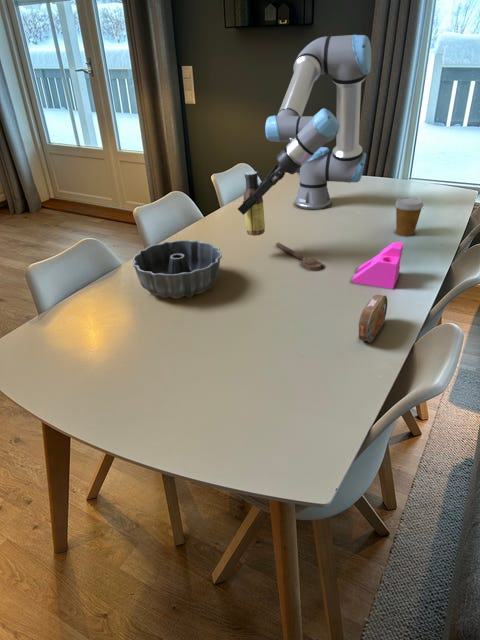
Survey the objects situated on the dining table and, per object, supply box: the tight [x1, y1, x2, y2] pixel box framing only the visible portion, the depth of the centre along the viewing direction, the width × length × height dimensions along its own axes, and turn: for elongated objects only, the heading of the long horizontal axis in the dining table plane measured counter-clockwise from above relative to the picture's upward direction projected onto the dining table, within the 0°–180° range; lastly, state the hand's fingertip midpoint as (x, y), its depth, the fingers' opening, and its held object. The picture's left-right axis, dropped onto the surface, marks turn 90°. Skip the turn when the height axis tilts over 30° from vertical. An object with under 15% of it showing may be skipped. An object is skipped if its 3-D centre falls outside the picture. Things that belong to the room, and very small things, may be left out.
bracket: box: [351, 241, 404, 290], centre depth 139 cm, size 12×10×10 cm
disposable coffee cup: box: [395, 196, 425, 237], centre depth 168 cm, size 10×10×12 cm
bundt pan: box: [132, 239, 223, 299], centre depth 141 cm, size 26×26×10 cm
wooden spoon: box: [275, 242, 323, 271], centre depth 157 cm, size 24×5×2 cm, turn 29°
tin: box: [358, 294, 388, 343], centre depth 114 cm, size 15×3×8 cm, turn 148°
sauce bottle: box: [243, 170, 266, 237], centre depth 150 cm, size 7×6×20 cm
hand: (243, 208), depth 152 cm, fingers closed on sauce bottle, 6 cm apart
